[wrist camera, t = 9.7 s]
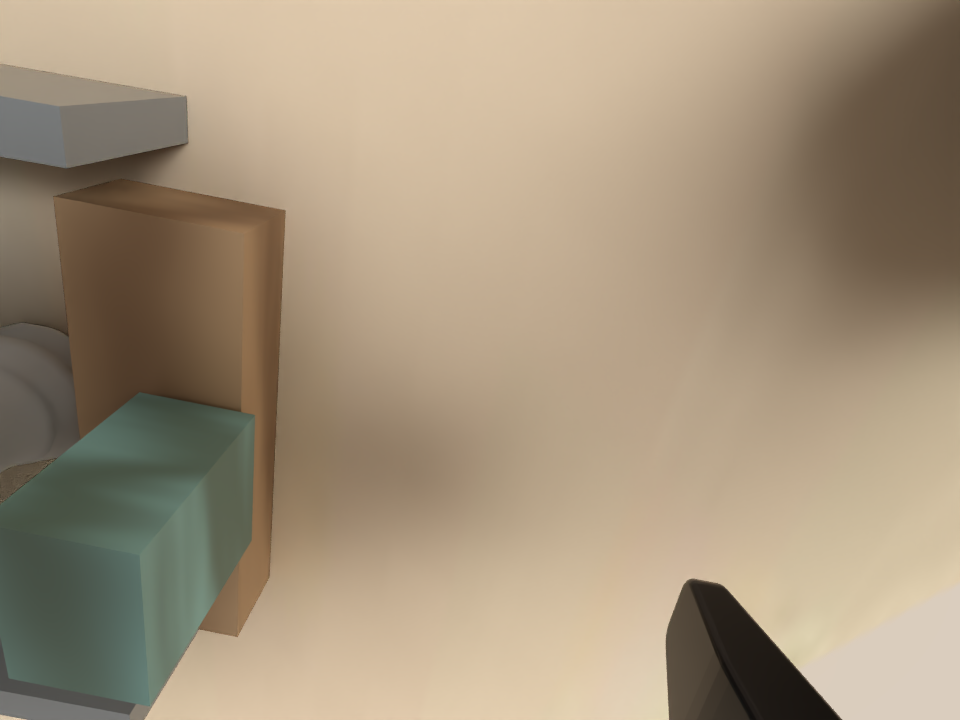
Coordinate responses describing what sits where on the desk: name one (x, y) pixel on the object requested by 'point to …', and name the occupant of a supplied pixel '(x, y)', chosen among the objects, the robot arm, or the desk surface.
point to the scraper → (150, 443)
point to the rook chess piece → (35, 395)
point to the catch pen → (68, 143)
